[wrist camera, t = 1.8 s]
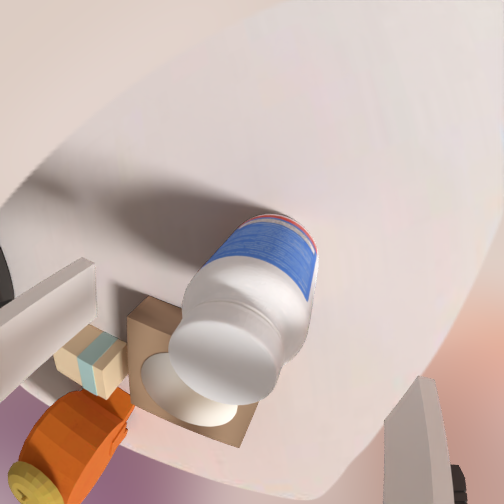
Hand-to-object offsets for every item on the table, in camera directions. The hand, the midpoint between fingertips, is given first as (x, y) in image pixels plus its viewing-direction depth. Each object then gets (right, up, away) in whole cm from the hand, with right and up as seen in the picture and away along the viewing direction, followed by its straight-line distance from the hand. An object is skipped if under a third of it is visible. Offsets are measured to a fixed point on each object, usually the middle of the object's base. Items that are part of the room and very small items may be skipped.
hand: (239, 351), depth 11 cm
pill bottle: (+2, +3, +8) cm, 9 cm away
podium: (-3, -6, +13) cm, 14 cm away
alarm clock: (-16, -14, +20) cm, 29 cm away
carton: (-14, -5, +16) cm, 21 cm away
